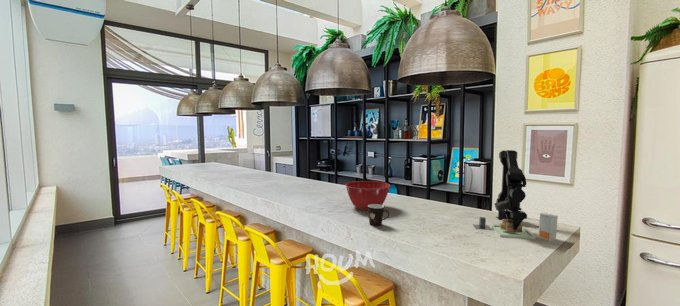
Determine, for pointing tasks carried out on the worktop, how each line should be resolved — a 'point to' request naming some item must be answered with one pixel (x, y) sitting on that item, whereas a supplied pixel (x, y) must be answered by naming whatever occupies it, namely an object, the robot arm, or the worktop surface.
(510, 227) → the wooden lantern frame
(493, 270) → the worktop surface
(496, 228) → the tray
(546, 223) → the skincare box
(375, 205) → the coffee mug
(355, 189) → the mixing bowl
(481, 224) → the grey upright post
